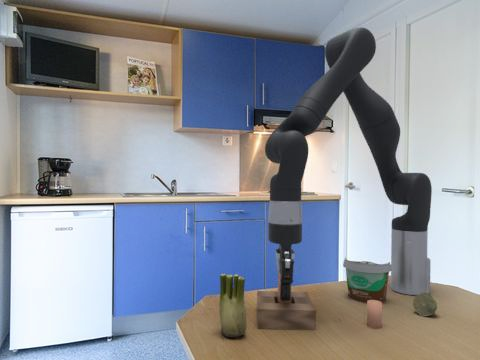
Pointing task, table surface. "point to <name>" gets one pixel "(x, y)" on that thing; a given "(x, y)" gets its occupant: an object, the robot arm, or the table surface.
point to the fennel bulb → (232, 305)
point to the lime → (425, 304)
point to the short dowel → (374, 314)
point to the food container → (367, 280)
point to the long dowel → (279, 289)
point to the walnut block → (285, 311)
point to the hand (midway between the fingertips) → (284, 297)
